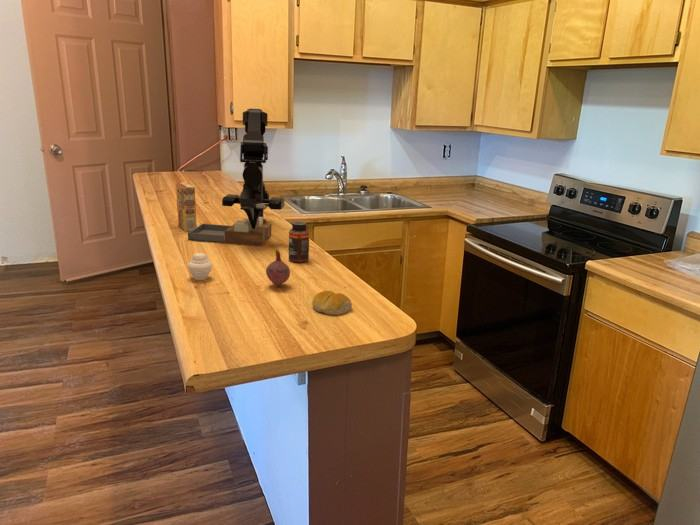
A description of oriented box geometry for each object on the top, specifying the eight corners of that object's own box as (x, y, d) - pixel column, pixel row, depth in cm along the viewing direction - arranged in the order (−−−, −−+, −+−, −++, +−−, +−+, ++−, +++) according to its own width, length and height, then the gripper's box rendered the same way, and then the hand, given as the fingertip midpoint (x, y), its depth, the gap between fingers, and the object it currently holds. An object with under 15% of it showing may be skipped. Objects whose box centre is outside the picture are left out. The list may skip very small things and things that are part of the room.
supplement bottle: (311, 259, 160) (313, 222, 157) (303, 264, 155) (304, 226, 152) (293, 256, 162) (294, 219, 159) (284, 261, 157) (285, 223, 153)
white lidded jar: (199, 284, 135) (198, 257, 133) (182, 278, 138) (181, 252, 136) (217, 277, 140) (217, 252, 138) (201, 272, 143) (200, 247, 141)
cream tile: (249, 223, 181) (249, 216, 181) (262, 224, 181) (262, 217, 180) (246, 226, 177) (245, 219, 176) (259, 227, 177) (259, 220, 176)
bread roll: (324, 299, 131) (325, 283, 129) (356, 308, 126) (357, 292, 125) (304, 309, 124) (304, 293, 123) (336, 319, 119) (337, 302, 118)
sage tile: (238, 227, 175) (238, 220, 174) (251, 228, 174) (251, 221, 174) (234, 231, 170) (234, 223, 170) (248, 232, 170) (248, 224, 169)
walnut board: (236, 233, 184) (236, 221, 182) (271, 235, 183) (271, 224, 182) (224, 243, 171) (224, 231, 170) (261, 246, 170) (261, 233, 169)
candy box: (197, 230, 184) (195, 186, 179) (185, 232, 182) (183, 187, 177) (189, 225, 191) (187, 182, 186) (177, 226, 189) (175, 182, 184)
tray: (202, 230, 185) (202, 223, 184) (235, 233, 184) (235, 226, 183) (188, 240, 172) (187, 232, 171) (223, 243, 171) (223, 235, 171)
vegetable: (278, 280, 141) (278, 244, 138) (295, 286, 137) (296, 249, 134) (260, 286, 136) (261, 248, 133) (277, 292, 133) (278, 253, 130)
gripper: (215, 181, 160) (217, 232, 165) (277, 185, 159) (277, 236, 164) (227, 176, 171) (228, 224, 176) (285, 180, 170) (284, 228, 174)
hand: (253, 228), depth 172 cm, fingers closed
